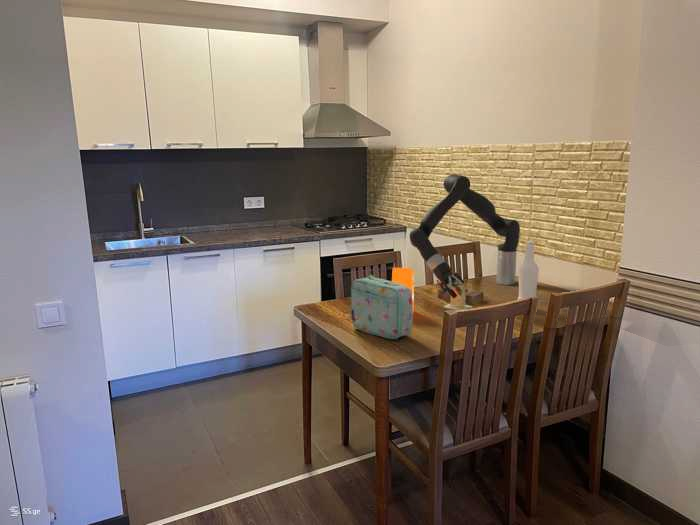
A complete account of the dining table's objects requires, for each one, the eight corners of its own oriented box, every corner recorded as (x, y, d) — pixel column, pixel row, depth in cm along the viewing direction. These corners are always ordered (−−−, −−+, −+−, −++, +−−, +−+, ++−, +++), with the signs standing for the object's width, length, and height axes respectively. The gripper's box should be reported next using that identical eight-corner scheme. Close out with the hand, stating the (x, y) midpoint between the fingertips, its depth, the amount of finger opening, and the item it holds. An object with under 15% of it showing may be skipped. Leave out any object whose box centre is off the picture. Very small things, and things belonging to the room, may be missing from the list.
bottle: (532, 313, 209) (537, 243, 203) (513, 310, 214) (517, 241, 208) (538, 308, 216) (543, 240, 209) (520, 305, 220) (523, 238, 214)
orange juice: (412, 316, 209) (412, 270, 205) (391, 315, 211) (391, 269, 207) (413, 310, 217) (413, 266, 212) (393, 310, 218) (393, 265, 214)
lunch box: (345, 327, 197) (344, 275, 193) (363, 321, 204) (363, 270, 200) (397, 344, 179) (397, 287, 174) (415, 337, 186) (415, 281, 181)
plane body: (437, 297, 235) (437, 286, 234) (449, 293, 242) (449, 281, 241) (472, 305, 223) (472, 292, 222) (483, 300, 230) (483, 287, 229)
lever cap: (450, 306, 220) (450, 285, 218) (454, 304, 223) (454, 283, 221) (461, 308, 217) (461, 287, 215) (465, 306, 219) (465, 285, 217)
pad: (443, 307, 220) (443, 306, 220) (452, 303, 226) (452, 302, 226) (463, 312, 213) (463, 310, 213) (472, 307, 219) (472, 306, 219)
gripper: (435, 263, 215) (457, 293, 210) (452, 258, 225) (474, 287, 220) (424, 274, 220) (446, 303, 215) (442, 268, 230) (463, 296, 225)
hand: (460, 295), depth 217 cm, fingers open, 8 cm apart
